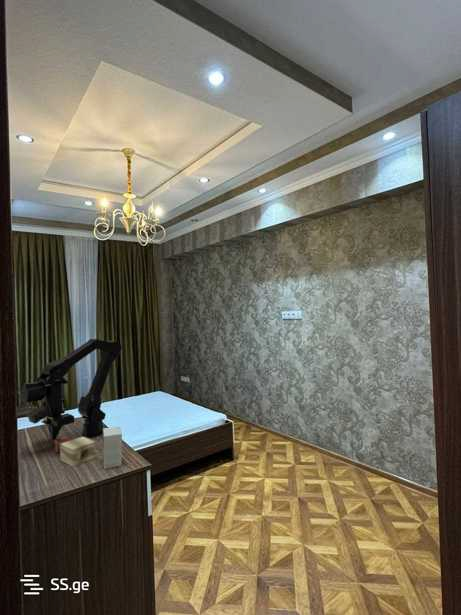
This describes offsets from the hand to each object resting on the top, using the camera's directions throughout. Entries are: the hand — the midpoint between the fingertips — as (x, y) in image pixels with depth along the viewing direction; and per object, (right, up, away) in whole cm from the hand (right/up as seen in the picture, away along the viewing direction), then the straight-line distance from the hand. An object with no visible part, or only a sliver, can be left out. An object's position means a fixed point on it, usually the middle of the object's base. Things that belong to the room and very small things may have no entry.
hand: (53, 439), depth 119 cm
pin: (+9, -3, -7) cm, 11 cm away
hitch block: (+14, -2, -10) cm, 17 cm away
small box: (+26, -3, -13) cm, 30 cm away
